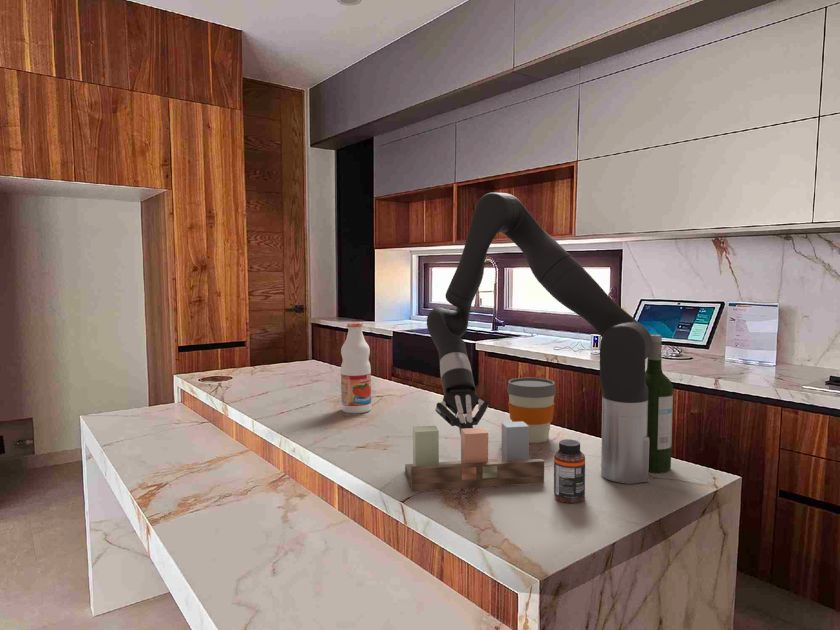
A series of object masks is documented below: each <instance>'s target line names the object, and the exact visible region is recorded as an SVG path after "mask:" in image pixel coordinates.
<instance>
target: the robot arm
mask: <svg viewBox="0 0 840 630" xmlns="http://www.w3.org/2000/svg"><path fill="white" fill-rule="evenodd" d="M498 233H502V234H503V235H504V236H506V237H507V238H508V239H510V241H512V243H514V244H515V245H516V246H517V248H518V249H520V250H521V252H522V254H523V255H524V257H525V259H526V261H527V263H528V266H529V268H530V271H531V272H532V275H533V276H534V278H535V280H536V281H538V283H539V284H540V285H541V286H542V287H543V288H544V289H545V290H546V291H547V293H549V294H550V295H551V296H552V297H553V299H555V300H556V301H557V302H559V303H560V304H561V305H562V306H564V307H565V308H567V309H569V310H570V311H571V312H573V313H574V314H576V315H578V316H579V317H581V318H582V319H583V320H585V321H586V322H588V323H589V325H590V326H591V327H592V328H594V330H595V331H596V332H597V333H598V335H600V337H601V339H600V344H599V383H600V387H601V388H602V389H601V390H602V396H601V397H602V400H601V401H602V403H601V405H602V406H601V407H602V408H601V409H602V410H601V450H600V451H601V455H600V457H601V458H600V468H601V469H600V470H601V471H600V474H601V476H602V477H603V478H604V479H606V480H609V481H611V482H614V483H620V484H629V485H632V484H640V483H649V437H648V435H647V426H648V386H647V385H646V380H645V372H646V360H647V359H648V356H649V355H650V353H651V351H652V347H653V342H652V338H651V335H652V334H651V333H650V331H649V330H648V329H647V328H646V327H645V326H644V325H643V324H642V323H640V322H639V321H638V320H637V319H635V318H634V317H633V316H632V315H631V314H629V313H628V312H627V311H625V310H624V309H623V308H622V307H621V306H619V305H618V304H617V303H616V302H615V301H614V300H613V299H612V298H611V297H610V296H609V295H608V294H607V292H606V291H605V290H604V289H603V288H602V287H601V286H600V284H599V283H598V282H597V280H595V279H594V278H593V277H592V276H591V275H590V274H589V273H588V271H586V269H585V268H584V267H583V266H582V265H581V264H580V263H579V262H578V261H577V260H576V259H575V258H574V257H573V256H572V255H571V254H570V253H569V252H568V251H567V250H565V248H563V246H561V245H560V243H558V242H557V240H556V239H554V238H553V237H552V236H551V235H550V234H549V233H548V232H547V231H545V229H543V227H542V226H541V225H540V224H539V223H538V222H537V220H536V219H535V218H534V217H533V216H532V214H531V213H530V212H529V210H528V209H527V208H526V206H524V204H523V203H522V202H521V201H520V199H519V198H517V197H516V196H515V195H512V194H511V193H506V192H488V193H485V194H484V195H482V196H481V197H480V198H479V199H478V201H477V203H476V205H475V207H474V211H473V214H472V218H471V221H470V225H469V229H468V232H467V237H466V240H465V243H464V247H463V250H462V252H461V256H460V259H459V262H458V265H457V267H456V270H455V272H454V274H453V276H452V278H451V281H450V282H449V286H448V288H447V289H446V292H445V300H446V301H447V302H448V303H449V304H450V305H451V306H454V307H456V310H451V309H448V308H443V307H434V308H433V309H431V310H430V311H429V313H428V314H427V317H426V328H427V332H428V333H429V336H430V338H431V340H432V342H433V343H434V346H435V347H436V349H437V353H438V360H439V370H440V371H439V373H440V379H441V385H442V390H443V399H442V401H441V402H437V403H436V406H435V412H436V413H437V414H438V415H439V416H440V417H441V418H442V419H443V420H445V421H446V422H447V423H448V424H449V425H450V426H451V427H458V429H459V430H458V431H459V434H460V437H461V429H465V428H474V426H478V425H479V423H480V421H481V419H482V418H483V416H484V415H485V414H486V411H487V410H488V407H489V405H490V402H489V400H482V399H481V398H480V396H479V394H478V393H477V391H476V386H475V380H474V375H473V371H472V367H471V363H470V360H469V356H468V353H467V347H466V343H465V341H464V340H463V338H462V337H463V336H464V335H465V333H466V331H467V330H468V325H469V320H470V313H471V309H472V303H473V301H474V299H475V297H476V295H477V293H478V290H479V288H480V286H481V284H482V281H483V277H484V272H485V262H486V256H487V253H488V251H489V249H490V245H491V243H493V240H494V239H495V237H496V236H497V235H498ZM476 406H477V409H478V410H477V412H476V414H475V415H474V416H473V411H474V410H475V408H476Z"/></svg>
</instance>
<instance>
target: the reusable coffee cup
mask: <svg viewBox="0 0 840 630" xmlns="http://www.w3.org/2000/svg"><path fill="white" fill-rule="evenodd" d="M507 393H508V398H509V401H508V402H507V403H508V411H509V419H510V420H511V422H521V421H523V422H524V423H526V424H527V425H528V426H529V444H536V443H537V444H539V443H544V442H547V441H548V440H549V436H550V428H551V422H553V420H554V418H553V417H554V411H555V402H554V399H555V395H556V394H557V393H556V383H555V381H554V380H551V379H548V378H540V377H518V378H517V377H516V378H511V379H510V380H508V382H507Z"/></svg>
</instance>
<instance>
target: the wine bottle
mask: <svg viewBox="0 0 840 630" xmlns="http://www.w3.org/2000/svg"><path fill="white" fill-rule="evenodd" d="M650 335H651V338H652V342H653V347H652V351H651V353H650V355H649V356H648V357H647V359H646V360H647V361H646V362H647V363H646V368H645V380H646V385H647V386H648V426H647V435H648V437H649V473H651V474H664V473H668V472H670V470H671V469H672V468H671V467H672V440H673V439H672V438H673V437H672V435H673V433H672V432H673V431H672V430H673V406H674V405H673V402H674V399H673V397H674V395H673V394H674V385H673V383H672V381H671V379H670V378H669V377H667V376H666V374H665V373H663V369H662V341H663V338H662V335H661V334H650Z"/></svg>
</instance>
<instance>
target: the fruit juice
mask: <svg viewBox="0 0 840 630" xmlns="http://www.w3.org/2000/svg"><path fill="white" fill-rule="evenodd" d="M363 327H364V324H363V322H357V321H356V322H355V321H354V322H353V321H352V322H348V323H347V324H346V328H347V329H348V331H347V335H346V339H345V341H344V343H343V344H342V346H341V349H340V354H341V358H342V363H341V365H340V378H341V379H340V381H341V382H340V385H341V386H340V387H341V410H342V412H343V413H347V414H362V413H363V414H364V413H367V412H370V411H371V410H372V377H371V376H372V368H371V367H372V366H371V362H370V360H369V359H370V353H371V350H370V349H371V348H370V346H369V344H368V343H367V340H366V339H365V336H364V334H363Z"/></svg>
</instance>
